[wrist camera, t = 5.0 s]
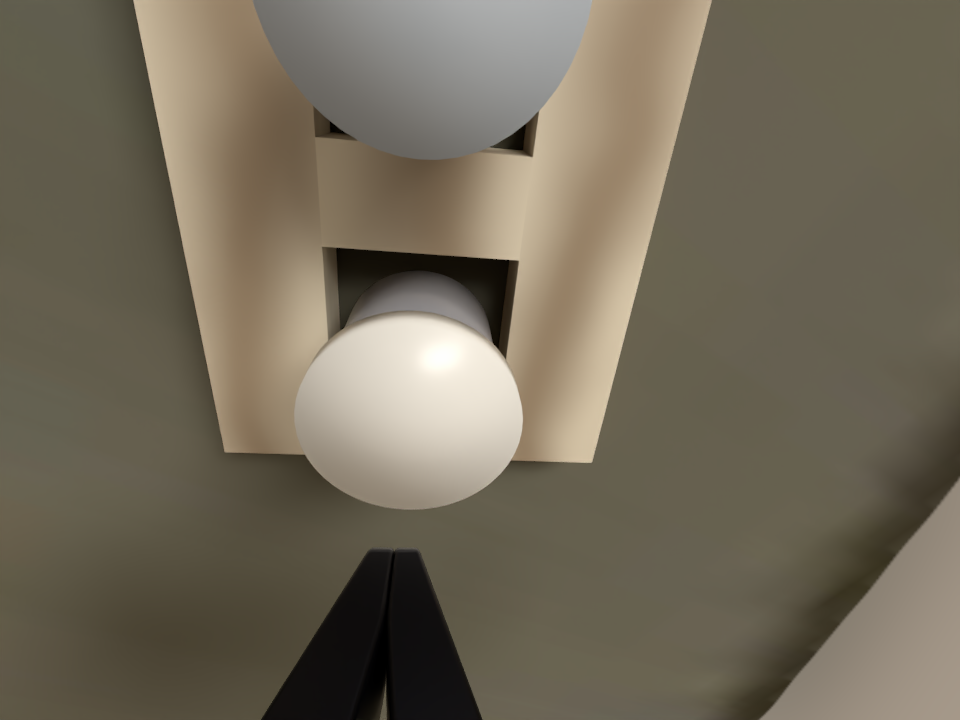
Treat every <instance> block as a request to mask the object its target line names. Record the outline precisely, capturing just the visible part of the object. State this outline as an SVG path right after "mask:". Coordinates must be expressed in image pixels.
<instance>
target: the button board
mask: <svg viewBox="0 0 960 720" xmlns="http://www.w3.org/2000/svg"><path fill="white" fill-rule="evenodd" d="M133 1H134V6H135V11H136V16H137V21H138V26H139V31H140V36H141V41H142V45H143V50H144V55H145V60H146V65H147V70H148V75H149V80H150V85H151V90H152V95H153V100H154V105H155V110H156V115H157V120H158V125H159V129H160V134H161V139H162V144H163V149H164V154H165V159H166V164H167V169H168V174H169V179H170V184H171V189H172V194H173V199H174V204H175V208H176V213H177V218H178V223H179V228H180V233H181V238H182V243H183V248H184V253H185V258H186V263H187V268H188V273H189V278H190V283H191V288H192V292H193V297H194V302H195V307H196V312H197V317H198V322H199V327H200V332H201V337H202V342H203V347H204V352H205V357H206V362H207V367H208V372H209V376H210V381H211V386H212V391H213V396H214V401H215V406H216V411H217V416H218V421H219V426H220V431H221V436H222V441H223V446H224V451H225V452H231V453H267V454H302V455H305V453H304V452H303V450H302V448H301V446H300V443H299V440H298V437H297V434H296V428H295V423H294V409H295V401H296V397H297V393H298V390H299V387H300V385H301V383H302V381H303V379H304V377H305V375H306V373H307V371H308V369H309V367H310V365H311V363H312V361H313V359H314V357H315V356H316V354H317V353H318V352H319V350H320V349H321V348H322V346H323V345H324V344H325V343H326V342H327V341H328V340H329V339H330V338H331V337H333V336H334V335H335V334H337V333H338V332H339V331H340V314H339V294H338V275H337V255H336V248H348V249H363V250H377V251H391V252H405V253H419V254H433V255H447V256H461V257H475V258H489V259H503V260H509V267H508V275H507V283H506V291H505V299H504V307H503V315H502V324H501V332H500V340H499V348H498V350H499V351H500V352H501V354H502V355H503V356H504V358H505V359H506V361H507V363H508V364H509V366H510V368H511V370H512V373H513V375H514V378H515V381H516V385H517V389H518V393H519V397H520V401H521V405H522V414H523V425H522V433H521V437H520V441H519V444H518V447H517V449H516V452H515V454H514V455H513V457H512V459H511V460H514V461H549V462H584V463H592V460H593V456H594V453H595V449H596V445H597V441H598V437H599V433H600V429H601V426H602V422H603V418H604V414H605V410H606V406H607V402H608V399H609V395H610V391H611V387H612V383H613V379H614V375H615V372H616V368H617V364H618V360H619V356H620V352H621V348H622V345H623V341H624V337H625V333H626V329H627V325H628V321H629V318H630V314H631V310H632V306H633V302H634V298H635V294H636V291H637V287H638V283H639V279H640V275H641V271H642V267H643V264H644V260H645V256H646V252H647V248H648V244H649V240H650V237H651V233H652V229H653V225H654V221H655V217H656V213H657V210H658V206H659V202H660V198H661V194H662V190H663V186H664V183H665V179H666V175H667V171H668V167H669V163H670V159H671V156H672V152H673V148H674V144H675V140H676V136H677V132H678V129H679V125H680V121H681V117H682V113H683V109H684V105H685V102H686V98H687V94H688V90H689V86H690V82H691V78H692V75H693V71H694V67H695V63H696V59H697V55H698V51H699V48H700V44H701V40H702V36H703V32H704V28H705V25H706V21H707V17H708V13H709V9H710V5H711V1H712V0H592V5H591V9H590V14H589V18H588V22H587V25H586V28H585V31H584V34H583V37H582V40H581V43H580V46H579V48H578V50H577V52H576V55H575V57H574V59H573V61H572V64H571V66H570V68H569V69H568V71H567V73H566V75H565V76H564V78H563V80H562V81H561V83H560V85H559V86H558V88H557V89H556V91H555V92H554V93H553V94H552V96H551V97H550V98H549V100H548V101H547V102H546V104H545V105H544V106H543V107H542V108H541V109H540V110H539V111H538V112H537V113H536V114H535V115H534V116H533V117H532V118H531V119H530V120H529V121H528V122H527V123H526V129H525V137H524V145H523V150H512V149H502V148H491V147H488V148H486V149H484V150H481V151H479V152H476V153H473V154H469V155H465V156H461V157H458V158H449V159H441V160H422V159H413V158H407V157H400V156H397V155H393V154H390V153H387V152H383V151H380V150H378V149H375V148H373V147H371V146H369V145H367V144H364V143H362V142H360V141H358V140H357V139H355V138H354V137H352V136H350V135H349V134H343V133H332V132H330V121H329V120H328V119H327V118H326V117H324V116H323V115H322V114H321V113H320V112H319V111H318V110H317V109H316V108H315V107H314V106H313V105H312V104H311V103H310V102H309V101H308V100H307V99H306V98H305V96H304V95H303V94H302V93H301V91H300V90H299V89H298V88H297V86H296V85H295V84H294V83H293V81H292V80H291V79H290V77H289V76H288V74H287V73H286V71H285V70H284V68H283V66H282V65H281V63H280V62H279V60H278V59H277V57H276V55H275V53H274V51H273V49H272V47H271V45H270V43H269V41H268V39H267V37H266V35H265V33H264V31H263V28H262V25H261V23H260V20H259V18H258V15H257V12H256V10H255V7H254V4H253V0H133Z"/></svg>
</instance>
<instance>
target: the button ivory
mask: <svg viewBox="0 0 960 720" xmlns="http://www.w3.org/2000/svg"><path fill="white" fill-rule="evenodd" d="M294 423H295V428H296V434H297V437H298V440H299V443H300V446H301V448H302V450H303V452H304V453H305V455H306V457H307V459H308V460H309V461H310V463H311V464H312V466H313V467H314V468H315V469H316V470H317V471H318V472H319V473H320V474H321V476H322V477H323V478H325V479H326V480H327V481H328V482H330V483H331V484H332V485H333V486H335V487H336V488H338V489H339V490H341V491H343V492H344V493H346V494H348V495H350V496H352V497H354V498H356V499H359V500H362V501H364V502H367V503H370V504H374V505H377V506H381V507H387V508H393V509H406V510H414V509H428V508H436V507H440V506H444V505H449V504H452V503H455V502H457V501H460V500H463V499H465V498H467V497H469V496H471V495H473V494H475V493H477V492H478V491H480V490H482V489H483V488H485V487H486V486H487V485H488V484H490V483H491V482H492V481H493V480H495V479H496V478H497V477H498V476H499V475H500V474H501V473H502V471H503V470H504V469H505V468H506V466H507V465H508V464H509V462H510V461H511V459H512V457H513V455H514V454H515V452H516V449H517V447H518V444H519V441H520V437H521V433H522V425H523V414H522V405H521V401H520V397H519V393H518V389H517V385H516V381H515V378H514V375H513V373H512V370H511V368H510V366H509V364H508V363H507V361H506V359H505V358H504V356H503V355H502V354H501V352H500V351H499V350H498V349H497V347H496V346H495V345H494V344H493V342H492V337H491V332H490V327H489V323H488V319H487V316H486V313H485V311H484V309H483V307H482V306H481V304H480V302H479V301H478V300H477V298H476V297H475V296H474V295H473V294H472V293H471V292H470V291H469V290H468V289H467V288H466V287H464V286H463V285H462V284H460V283H459V282H457V281H455V280H454V279H452V278H450V277H447V276H445V275H442V274H438V273H434V272H429V271H405V272H399V273H396V274H392V275H390V276H387V277H385V278H383V279H381V280H379V281H377V282H376V283H374V284H373V285H372V286H370V287H369V288H368V289H367V290H366V291H365V292H364V293H363V294H362V295H361V296H360V298H359V299H358V300H357V302H356V304H355V305H354V307H353V309H352V311H351V314H350V316H349V318H348V321H347V323H346V325H345V328H343V329H342V330H341V331H339V332H338V333H337V334H335V335H334V336H333V337H331V338H330V339H329V340H328V341H327V342H326V343H325V344H324V345H323V346H322V348H321V349H320V350H319V352H318V353H317V354H316V356H315V357H314V359H313V361H312V363H311V365H310V367H309V369H308V371H307V373H306V375H305V377H304V379H303V381H302V383H301V385H300V387H299V390H298V393H297V397H296V401H295V409H294Z"/></svg>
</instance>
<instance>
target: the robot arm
mask: <svg viewBox="0 0 960 720" xmlns="http://www.w3.org/2000/svg"><path fill="white" fill-rule="evenodd" d="M385 684H386V706H387V720H482V717H481V714H480V712H479V709H478V706H477V704H476V701H475V698H474V696H473V693H472V690H471V687H470V685H469V682H468V679H467V677H466V674H465V671H464V669H463V666H462V663H461V661H460V658H459V655H458V653H457V650H456V647H455V644H454V642H453V639H452V636H451V634H450V631H449V628H448V626H447V623H446V620H445V618H444V615H443V612H442V610H441V607H440V604H439V601H438V599H437V596H436V593H435V591H434V588H433V585H432V583H431V580H430V577H429V575H428V572H427V569H426V567H425V564H424V561H423V558H422V556H421V553H420V551H419V550H418V549H417V548H397V549H396V550H395V552H394V550H393V549H392V548H371V549H370V550H369V551H368V552H367V553H366V555H365V556H364V558H363V559H362V561H361V563H360V564H359V566H358V567H357V569H356V571H355V572H354V574H353V575H352V577H351V578H350V580H349V582H348V583H347V585H346V586H345V588H344V589H343V591H342V593H341V594H340V596H339V597H338V599H337V600H336V602H335V604H334V605H333V607H332V608H331V610H330V612H329V613H328V615H327V616H326V618H325V619H324V621H323V623H322V624H321V626H320V627H319V629H318V630H317V632H316V634H315V635H314V637H313V638H312V640H311V641H310V643H309V645H308V646H307V648H306V649H305V651H304V652H303V654H302V656H301V657H300V659H299V660H298V662H297V664H296V665H295V667H294V668H293V670H292V671H291V673H290V675H289V676H288V678H287V679H286V681H285V682H284V684H283V686H282V687H281V689H280V690H279V692H278V693H277V695H276V697H275V698H274V700H273V701H272V703H271V705H270V706H269V708H268V709H267V711H266V712H265V714H264V716H263V717H262V719H261V720H379V719H380V714H381V709H382V704H383V698H384V691H385Z"/></svg>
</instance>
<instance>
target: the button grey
mask: <svg viewBox="0 0 960 720" xmlns="http://www.w3.org/2000/svg"><path fill="white" fill-rule="evenodd" d="M253 4H254V7H255V10H256V12H257V15H258V18H259V20H260V23H261V25H262V28H263V31H264V33H265V35H266V37H267V39H268V41H269V43H270V45H271V47H272V49H273V51H274V53H275V55H276V57H277V59H278V60H279V62H280V63H281V65H282V66H283V68H284V70H285V71H286V73H287V74H288V76H289V77H290V79H291V80H292V81H293V83H294V84H295V85H296V86H297V88H298V89H299V90H300V91H301V93H302V94H303V95H304V96H305V98H306V99H307V100H308V101H309V102H310V103H311V104H312V105H313V106H314V107H315V108H316V109H317V110H318V111H319V112H320V113H321V114H322V115H323V116H324V117H326V118H327V119H328V120H329V121H331V122H332V123H333V124H334V125H336V126H337V127H338V128H339V129H341V130H342V131H344V132H345V133H347V134H349V135H350V136H352V137H354V138H355V139H357V140H358V141H360V142H362V143H364V144H367V145H369V146H371V147H373V148H375V149H378V150H380V151H383V152H387V153H390V154H393V155H397V156H400V157H407V158H413V159H422V160H441V159H449V158H458V157H461V156H465V155H469V154H473V153H476V152H479V151H481V150H484V149H486V148H488V147H491V146H493V145H495V144H497V143H499V142H500V141H502V140H504V139H505V138H507V137H509V136H510V135H512V134H513V133H515V132H516V131H517V130H518V129H520V128H521V127H522V126H523V125H525V124H526V123H527V122H528V121H529V120H530V119H531V118H532V117H533V116H534V115H535V114H536V113H537V112H538V111H539V110H540V109H541V108H542V107H543V106H544V105H545V104H546V102H547V101H548V100H549V98H550V97H551V96H552V94H553V93H554V92H555V91H556V89H557V88H558V86H559V85H560V83H561V81H562V80H563V78H564V76H565V75H566V73H567V71H568V69H569V68H570V66H571V64H572V61H573V59H574V57H575V55H576V52H577V50H578V48H579V46H580V43H581V40H582V37H583V34H584V31H585V28H586V25H587V22H588V18H589V14H590V9H591V5H592V0H253Z"/></svg>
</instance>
